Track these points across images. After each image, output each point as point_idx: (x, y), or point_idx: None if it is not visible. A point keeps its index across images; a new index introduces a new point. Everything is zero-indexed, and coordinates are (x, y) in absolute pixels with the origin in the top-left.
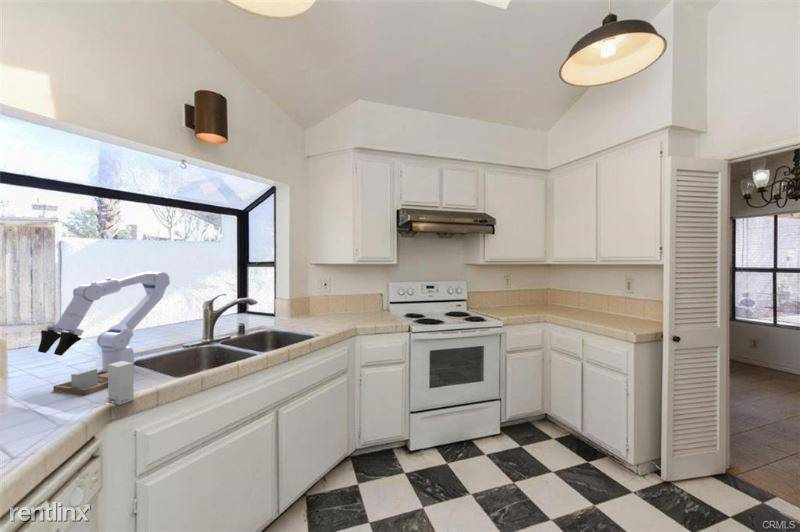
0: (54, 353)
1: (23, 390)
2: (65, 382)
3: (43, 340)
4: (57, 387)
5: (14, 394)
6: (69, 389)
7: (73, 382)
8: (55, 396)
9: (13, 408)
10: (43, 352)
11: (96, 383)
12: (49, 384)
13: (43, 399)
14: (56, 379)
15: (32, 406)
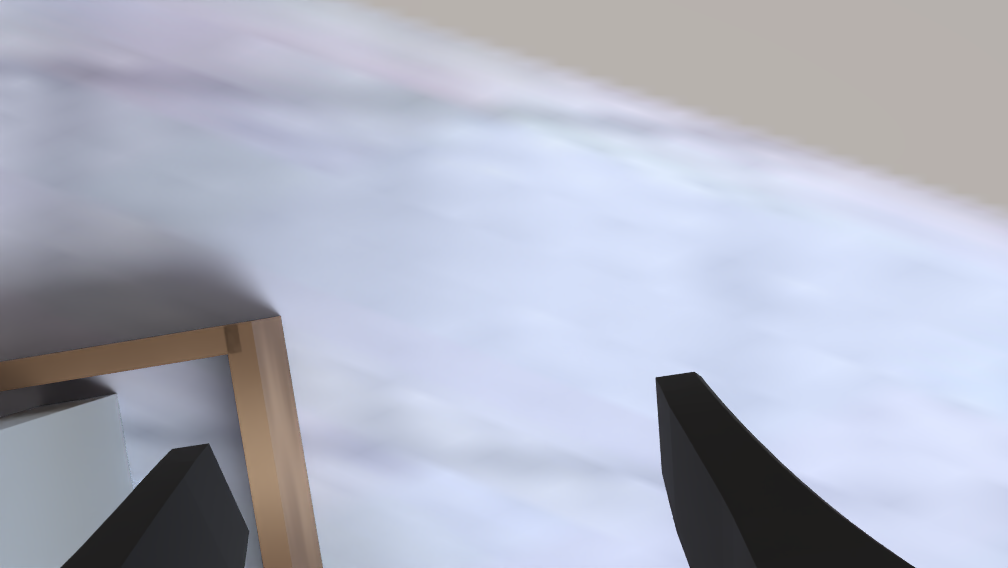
0: (192, 451)
1: (735, 251)
2: (269, 438)
3: (742, 537)
4: (191, 332)
5: (676, 164)
6: (7, 361)
7: (8, 423)
8: (225, 308)
9: (228, 8)
10: (661, 445)
11: None
12: None
13: (239, 222)
14: None
15: (123, 100)
